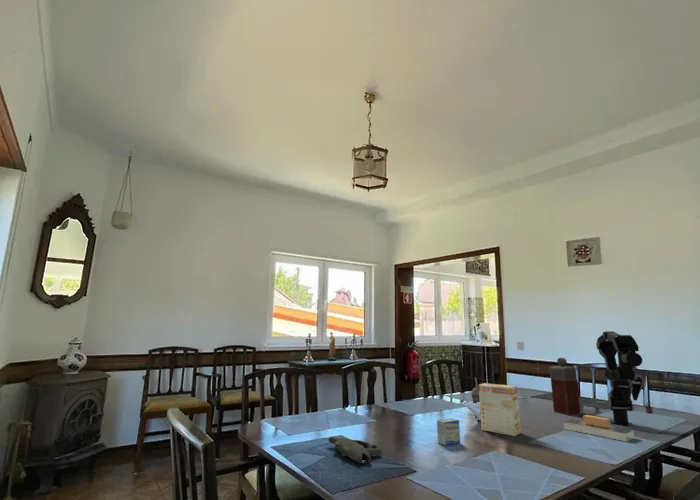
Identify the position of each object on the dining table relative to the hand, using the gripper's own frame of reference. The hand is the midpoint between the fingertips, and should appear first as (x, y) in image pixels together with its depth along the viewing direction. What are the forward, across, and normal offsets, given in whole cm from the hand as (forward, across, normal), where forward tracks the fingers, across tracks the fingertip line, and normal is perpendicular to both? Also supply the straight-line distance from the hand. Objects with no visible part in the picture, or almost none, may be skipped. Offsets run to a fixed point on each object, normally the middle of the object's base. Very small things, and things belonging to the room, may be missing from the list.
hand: (631, 401), depth 168 cm
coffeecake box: (+13, +42, -37) cm, 58 cm away
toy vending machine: (+13, -19, -36) cm, 43 cm away
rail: (+13, +12, -10) cm, 20 cm away
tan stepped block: (+13, +12, -10) cm, 20 cm away
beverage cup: (+13, +31, -55) cm, 64 cm away
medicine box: (+13, +73, -40) cm, 84 cm away
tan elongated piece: (+14, +110, -53) cm, 122 cm away
